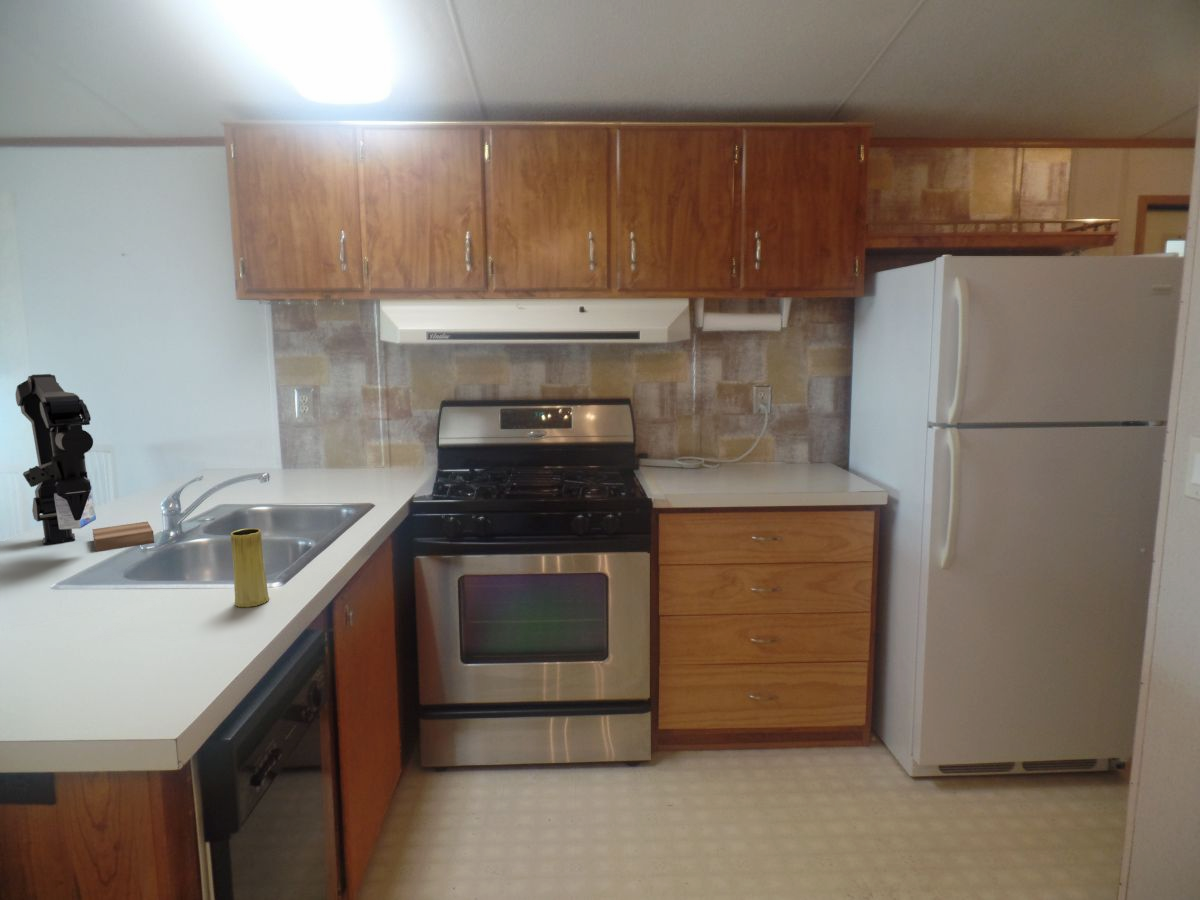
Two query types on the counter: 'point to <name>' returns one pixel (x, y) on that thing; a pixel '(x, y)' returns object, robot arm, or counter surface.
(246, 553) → the vase
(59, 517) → the medicine box
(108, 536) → the block
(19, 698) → the counter surface
